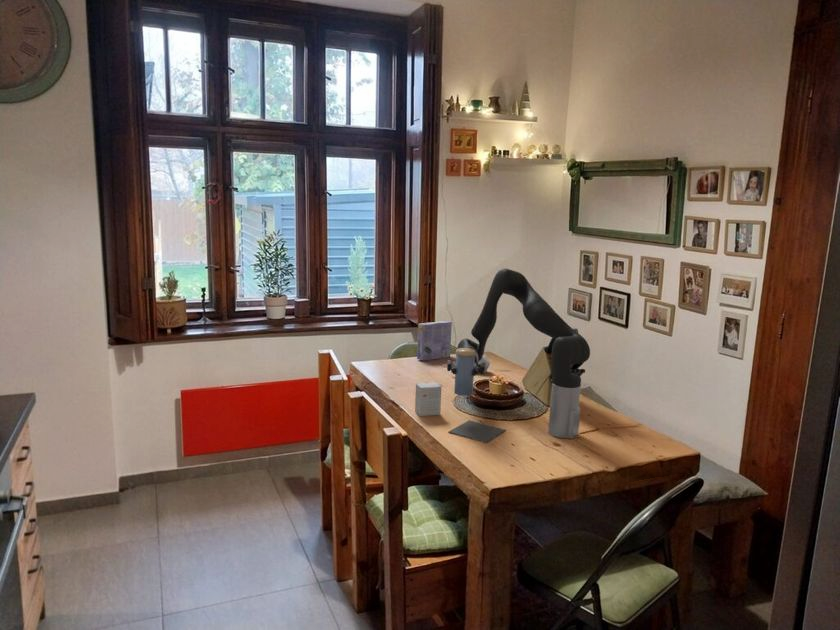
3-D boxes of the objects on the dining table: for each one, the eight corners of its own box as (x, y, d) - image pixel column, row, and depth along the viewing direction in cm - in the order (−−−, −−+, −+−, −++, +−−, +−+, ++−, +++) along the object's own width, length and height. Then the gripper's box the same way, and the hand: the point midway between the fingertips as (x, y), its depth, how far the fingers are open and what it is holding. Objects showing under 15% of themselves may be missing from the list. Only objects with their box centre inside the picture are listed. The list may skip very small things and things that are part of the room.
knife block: (556, 415, 229) (563, 332, 224) (520, 386, 263) (526, 314, 258) (584, 414, 232) (592, 332, 226) (546, 386, 266) (551, 314, 260)
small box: (435, 409, 229) (436, 381, 228) (440, 414, 224) (442, 386, 222) (414, 411, 227) (415, 383, 225) (419, 416, 222) (420, 387, 220)
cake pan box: (445, 354, 313) (447, 319, 310) (452, 356, 309) (454, 321, 306) (415, 359, 301) (417, 323, 298) (422, 361, 297) (424, 325, 294)
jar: (476, 392, 220) (478, 350, 217) (467, 396, 214) (469, 353, 212) (460, 388, 223) (462, 347, 221) (450, 393, 218) (452, 350, 215)
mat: (505, 430, 211) (505, 429, 211) (486, 443, 200) (486, 441, 200) (469, 421, 219) (469, 420, 219) (448, 432, 207) (448, 431, 207)
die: (483, 377, 277) (495, 359, 279) (467, 366, 278) (479, 348, 280) (481, 378, 285) (492, 361, 287) (465, 368, 286) (476, 350, 288)
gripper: (448, 349, 232) (443, 360, 215) (487, 351, 230) (486, 363, 213) (447, 368, 233) (442, 381, 217) (486, 371, 231) (484, 384, 215)
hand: (464, 372), depth 215 cm, fingers closed on jar, 6 cm apart
